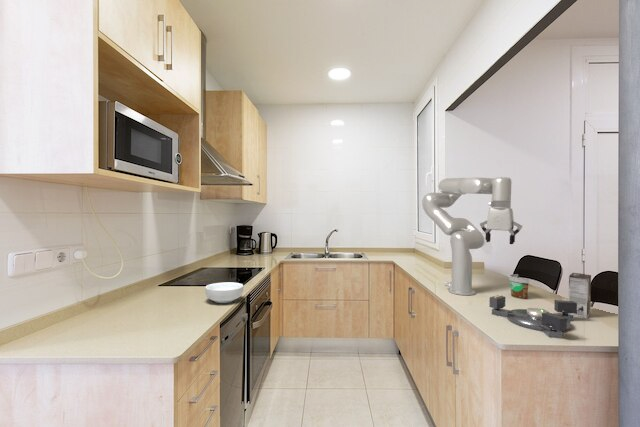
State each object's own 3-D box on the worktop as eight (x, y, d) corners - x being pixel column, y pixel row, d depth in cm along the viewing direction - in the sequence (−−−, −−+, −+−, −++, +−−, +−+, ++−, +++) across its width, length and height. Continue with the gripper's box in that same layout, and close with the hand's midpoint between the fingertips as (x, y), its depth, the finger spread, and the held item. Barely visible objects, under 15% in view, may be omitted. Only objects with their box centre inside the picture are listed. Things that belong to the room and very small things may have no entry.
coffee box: (571, 309, 143) (572, 272, 143) (590, 313, 138) (591, 274, 138) (567, 314, 137) (568, 275, 136) (587, 318, 132) (588, 277, 132)
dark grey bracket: (498, 309, 132) (498, 298, 132) (487, 306, 136) (487, 296, 136) (507, 306, 136) (507, 296, 136) (496, 304, 140) (496, 294, 140)
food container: (504, 293, 171) (504, 273, 171) (517, 293, 170) (517, 274, 170) (514, 299, 158) (515, 278, 158) (528, 300, 158) (529, 279, 157)
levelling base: (480, 321, 126) (481, 303, 126) (504, 305, 148) (504, 290, 148) (564, 341, 108) (565, 320, 108) (577, 319, 130) (577, 301, 130)
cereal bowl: (249, 302, 149) (249, 287, 149) (211, 308, 140) (211, 292, 140) (235, 294, 163) (235, 280, 163) (200, 299, 154) (200, 284, 154)
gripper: (477, 204, 153) (476, 241, 154) (520, 205, 141) (518, 245, 142) (483, 204, 159) (482, 240, 159) (525, 205, 146) (523, 244, 147)
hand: (499, 242), depth 150 cm, fingers open, 9 cm apart
